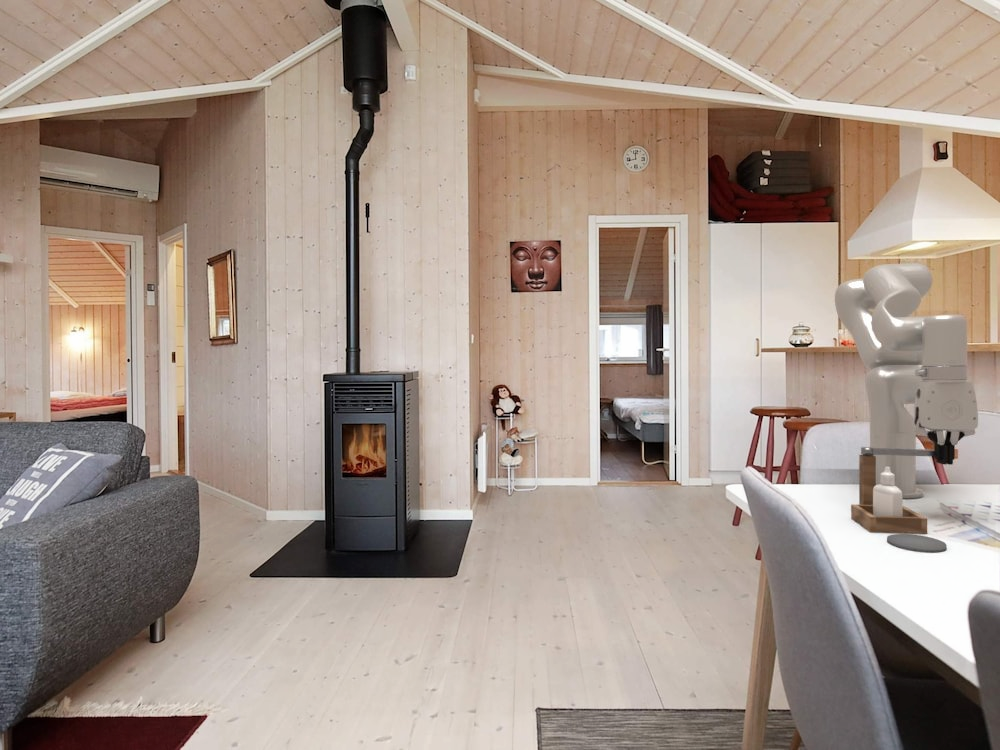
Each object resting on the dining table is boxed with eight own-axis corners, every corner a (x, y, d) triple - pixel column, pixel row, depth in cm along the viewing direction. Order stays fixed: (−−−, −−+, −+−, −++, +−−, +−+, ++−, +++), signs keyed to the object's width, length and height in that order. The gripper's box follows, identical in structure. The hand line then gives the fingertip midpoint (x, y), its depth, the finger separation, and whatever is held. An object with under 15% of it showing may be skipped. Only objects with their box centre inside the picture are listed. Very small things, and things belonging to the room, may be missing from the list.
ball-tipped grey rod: (862, 455, 132) (862, 447, 132) (859, 454, 134) (859, 446, 134) (959, 459, 126) (959, 450, 126) (955, 457, 128) (955, 448, 128)
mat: (878, 536, 117) (878, 533, 117) (931, 537, 115) (931, 534, 115) (900, 551, 108) (900, 548, 108) (957, 553, 106) (957, 550, 106)
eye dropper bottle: (878, 529, 121) (878, 469, 121) (871, 521, 126) (871, 464, 126) (904, 530, 120) (904, 470, 119) (895, 522, 125) (895, 465, 125)
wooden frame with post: (840, 510, 135) (840, 454, 135) (890, 512, 133) (890, 454, 133) (870, 532, 119) (870, 468, 119) (927, 534, 117) (927, 469, 117)
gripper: (912, 376, 123) (913, 466, 123) (996, 374, 120) (996, 467, 121) (896, 375, 130) (896, 460, 131) (974, 373, 128) (974, 460, 128)
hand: (944, 463), depth 126 cm, fingers closed
